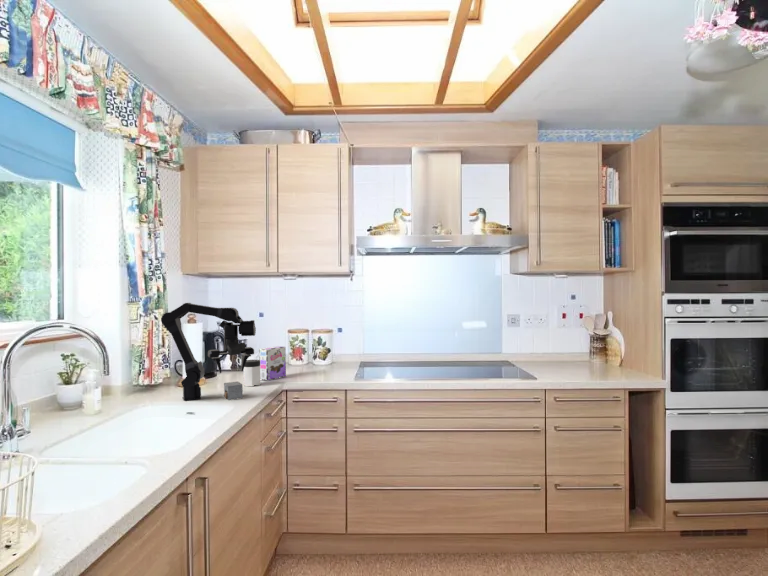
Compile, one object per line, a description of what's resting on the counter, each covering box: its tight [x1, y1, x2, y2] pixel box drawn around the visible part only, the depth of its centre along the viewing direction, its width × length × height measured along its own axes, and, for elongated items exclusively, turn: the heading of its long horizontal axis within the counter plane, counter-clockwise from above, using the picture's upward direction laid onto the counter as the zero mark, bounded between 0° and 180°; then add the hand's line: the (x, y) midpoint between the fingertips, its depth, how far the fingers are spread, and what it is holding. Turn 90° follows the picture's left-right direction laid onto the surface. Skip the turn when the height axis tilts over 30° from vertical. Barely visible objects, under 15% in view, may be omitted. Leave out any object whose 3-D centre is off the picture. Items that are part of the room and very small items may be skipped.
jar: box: [243, 359, 262, 387], centre depth 225 cm, size 9×8×12 cm
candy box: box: [258, 345, 287, 381], centre depth 242 cm, size 14×6×16 cm, turn 147°
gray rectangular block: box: [223, 381, 244, 401], centre depth 199 cm, size 6×8×6 cm
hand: (231, 371), depth 200 cm, fingers open, 9 cm apart
